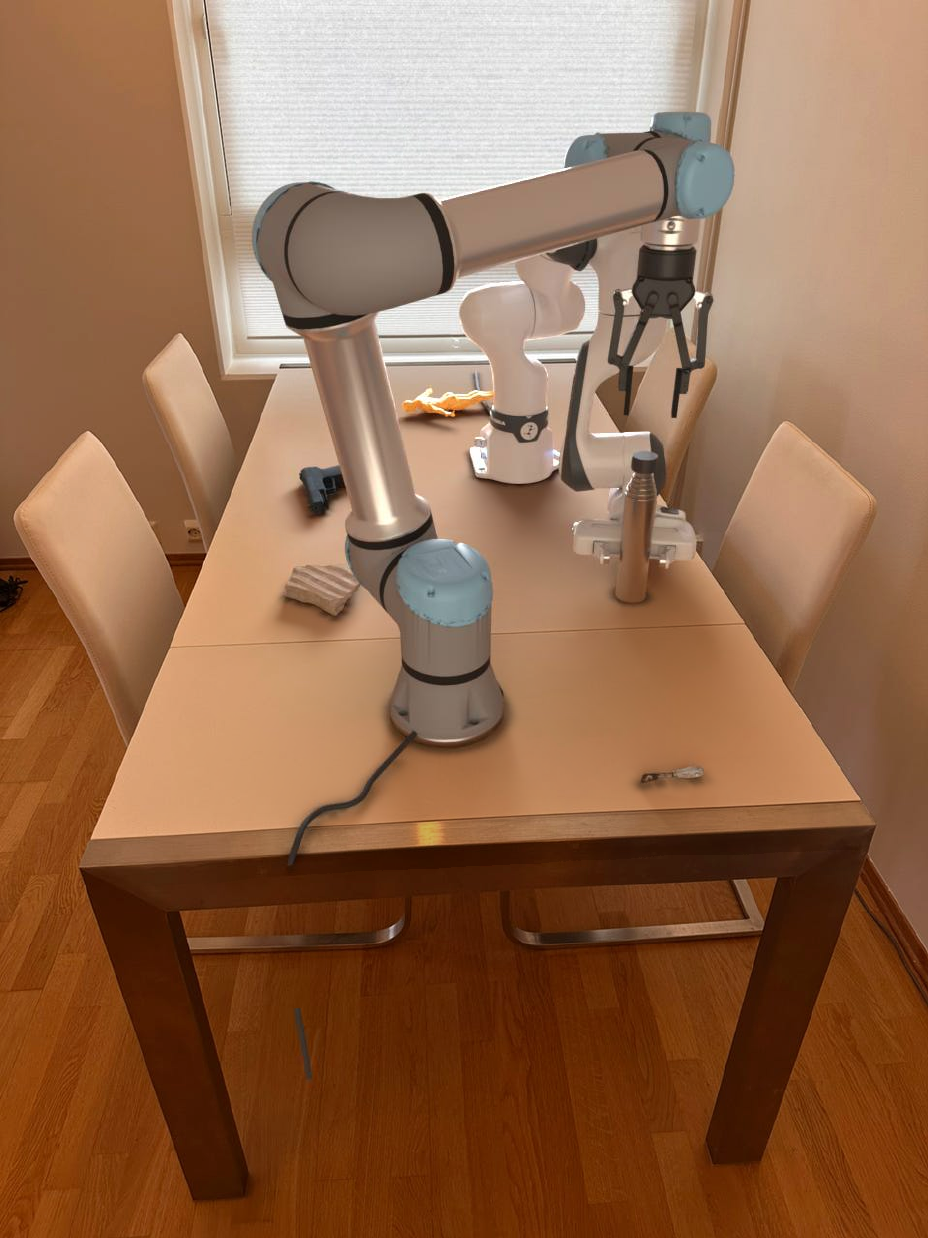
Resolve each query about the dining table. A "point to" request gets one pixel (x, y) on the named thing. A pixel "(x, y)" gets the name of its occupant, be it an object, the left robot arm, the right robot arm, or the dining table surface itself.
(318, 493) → the handgun
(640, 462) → the cap
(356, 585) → the stone
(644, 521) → the bottle
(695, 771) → the putty knife
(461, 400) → the human figure
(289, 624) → the dining table surface
